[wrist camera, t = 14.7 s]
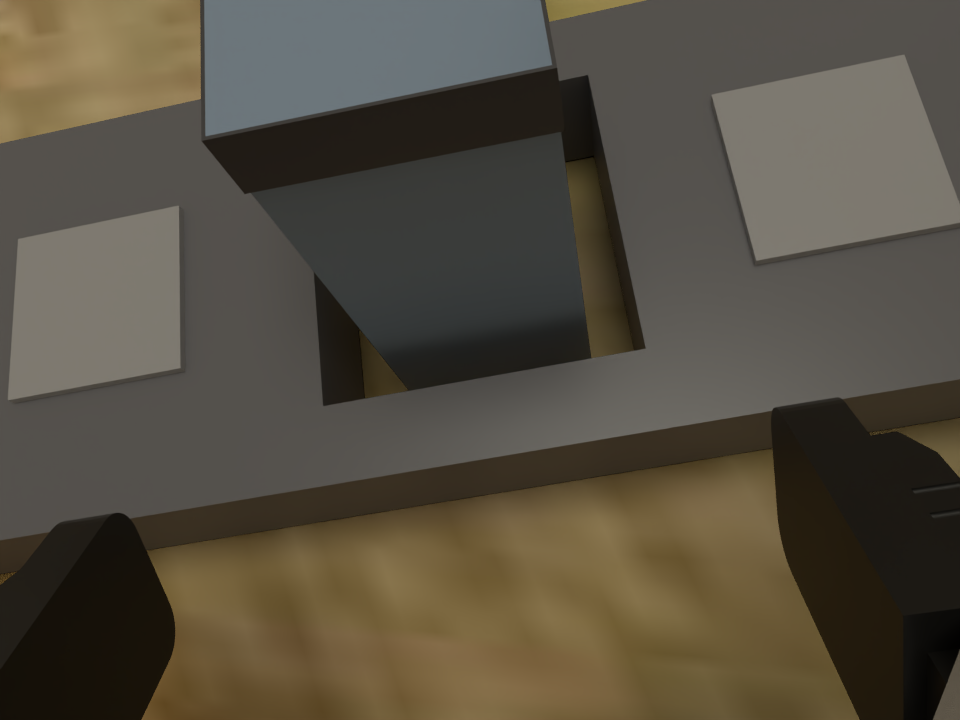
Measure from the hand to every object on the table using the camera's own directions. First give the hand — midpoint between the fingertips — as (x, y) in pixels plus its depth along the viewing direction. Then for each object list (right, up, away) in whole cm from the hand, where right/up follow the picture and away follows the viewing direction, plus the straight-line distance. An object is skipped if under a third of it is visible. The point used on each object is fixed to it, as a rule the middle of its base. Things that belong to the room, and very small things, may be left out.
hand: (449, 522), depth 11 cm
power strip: (-2, +3, +9) cm, 10 cm away
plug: (+1, +3, +9) cm, 10 cm away
